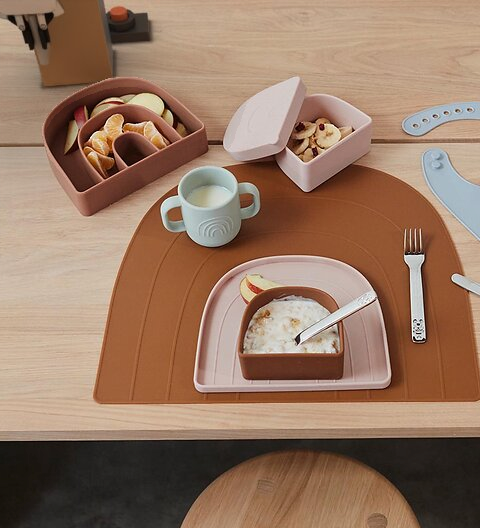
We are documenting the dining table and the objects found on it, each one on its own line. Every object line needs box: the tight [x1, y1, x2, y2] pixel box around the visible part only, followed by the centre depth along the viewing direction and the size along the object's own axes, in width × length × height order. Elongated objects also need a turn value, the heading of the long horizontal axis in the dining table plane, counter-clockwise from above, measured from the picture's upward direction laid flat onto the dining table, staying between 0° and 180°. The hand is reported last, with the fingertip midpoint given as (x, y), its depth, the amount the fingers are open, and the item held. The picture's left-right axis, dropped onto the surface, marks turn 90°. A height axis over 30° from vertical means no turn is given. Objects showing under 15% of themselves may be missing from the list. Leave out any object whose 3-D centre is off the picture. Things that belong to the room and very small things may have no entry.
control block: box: [106, 8, 151, 44], centre depth 158 cm, size 12×8×4 cm, turn 98°
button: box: [109, 5, 128, 22], centre depth 156 cm, size 4×4×2 cm
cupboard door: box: [25, 0, 114, 87], centre depth 136 cm, size 8×14×24 cm, turn 99°
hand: (38, 45), depth 132 cm, fingers closed on cupboard door
